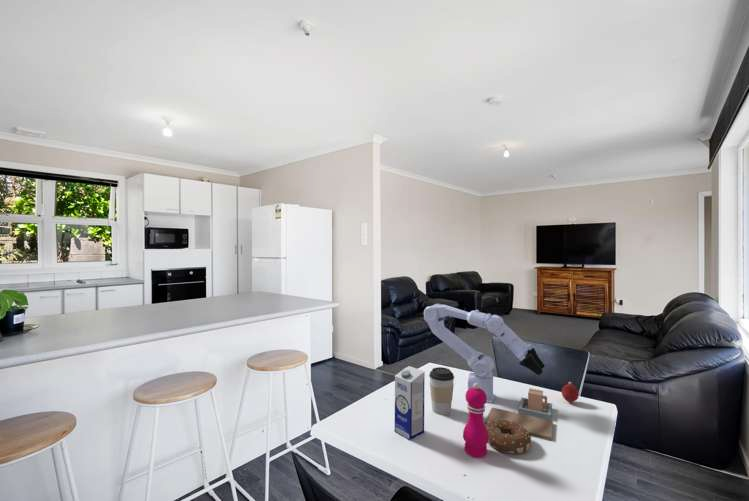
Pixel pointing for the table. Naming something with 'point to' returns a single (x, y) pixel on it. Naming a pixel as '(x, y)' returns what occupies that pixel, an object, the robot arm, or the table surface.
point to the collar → (533, 412)
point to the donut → (508, 436)
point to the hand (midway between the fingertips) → (541, 370)
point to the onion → (570, 393)
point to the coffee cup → (441, 390)
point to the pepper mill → (475, 423)
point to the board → (524, 422)
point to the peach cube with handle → (536, 400)
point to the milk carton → (409, 402)
